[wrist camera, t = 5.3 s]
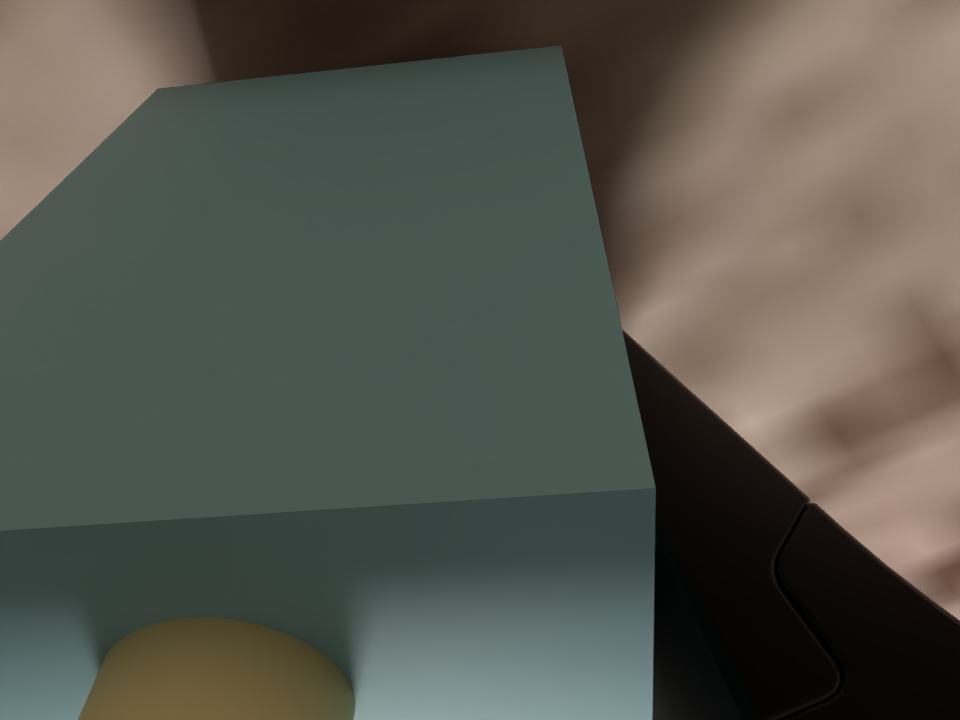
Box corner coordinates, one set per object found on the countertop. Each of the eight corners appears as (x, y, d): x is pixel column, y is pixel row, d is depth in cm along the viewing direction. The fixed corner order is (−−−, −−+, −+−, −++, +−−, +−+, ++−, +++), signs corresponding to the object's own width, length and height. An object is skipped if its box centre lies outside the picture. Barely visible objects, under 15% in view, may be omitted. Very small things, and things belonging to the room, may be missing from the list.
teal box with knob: (585, 495, 12) (663, 1179, 6) (299, 513, 12) (123, 1178, 6) (561, 44, 8) (693, 677, 3) (159, 88, 8) (-508, 733, 3)
